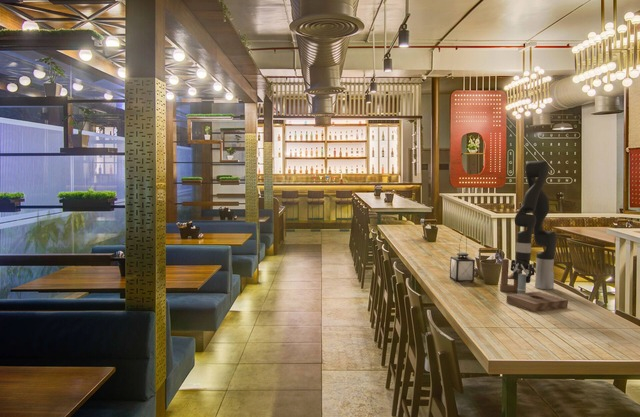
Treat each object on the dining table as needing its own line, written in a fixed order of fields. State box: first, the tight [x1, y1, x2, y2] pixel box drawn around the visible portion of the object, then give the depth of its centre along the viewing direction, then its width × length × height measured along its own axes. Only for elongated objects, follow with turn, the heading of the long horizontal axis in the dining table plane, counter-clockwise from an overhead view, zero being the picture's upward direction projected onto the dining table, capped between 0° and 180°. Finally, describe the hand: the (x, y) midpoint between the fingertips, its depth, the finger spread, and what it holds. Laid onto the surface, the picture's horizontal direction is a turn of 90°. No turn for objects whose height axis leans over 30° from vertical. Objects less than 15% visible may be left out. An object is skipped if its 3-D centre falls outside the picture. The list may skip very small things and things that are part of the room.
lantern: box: [449, 234, 476, 283], centre depth 306 cm, size 11×11×28 cm
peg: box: [516, 273, 527, 294], centre depth 268 cm, size 4×4×12 cm
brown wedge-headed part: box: [499, 258, 523, 293], centre depth 279 cm, size 4×11×18 cm, turn 79°
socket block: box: [506, 291, 569, 313], centre depth 251 cm, size 22×18×4 cm
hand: (521, 281), depth 267 cm, fingers open, 8 cm apart
